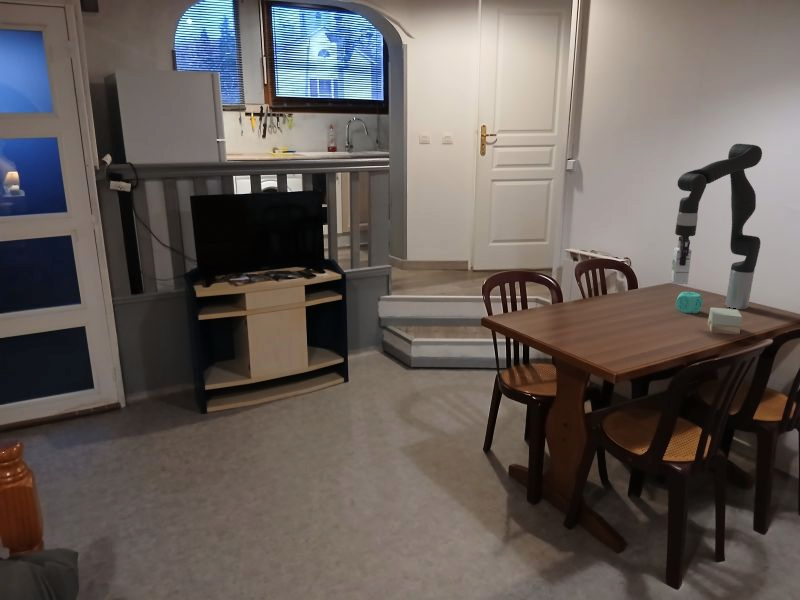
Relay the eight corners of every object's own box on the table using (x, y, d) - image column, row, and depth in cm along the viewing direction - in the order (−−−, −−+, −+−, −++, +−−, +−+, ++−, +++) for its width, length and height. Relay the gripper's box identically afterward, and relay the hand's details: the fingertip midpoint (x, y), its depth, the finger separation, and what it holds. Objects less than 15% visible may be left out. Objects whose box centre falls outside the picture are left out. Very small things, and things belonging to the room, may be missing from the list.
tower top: (709, 316, 243) (710, 307, 242) (736, 319, 240) (737, 309, 239) (712, 323, 234) (713, 314, 233) (740, 326, 231) (742, 316, 230)
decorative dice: (701, 311, 262) (704, 294, 260) (691, 314, 258) (694, 297, 256) (684, 307, 268) (686, 290, 266) (674, 310, 264) (677, 293, 262)
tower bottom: (707, 325, 244) (708, 316, 243) (734, 328, 241) (735, 318, 240) (711, 333, 235) (712, 323, 234) (739, 335, 232) (740, 326, 231)
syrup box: (688, 284, 241) (692, 250, 237) (672, 283, 242) (677, 249, 238) (684, 281, 247) (689, 247, 243) (669, 280, 248) (673, 246, 244)
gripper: (699, 226, 230) (693, 268, 235) (694, 221, 243) (688, 260, 248) (678, 225, 232) (673, 266, 237) (674, 220, 245) (669, 259, 250)
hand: (681, 263), depth 242 cm, fingers closed on syrup box, 6 cm apart
